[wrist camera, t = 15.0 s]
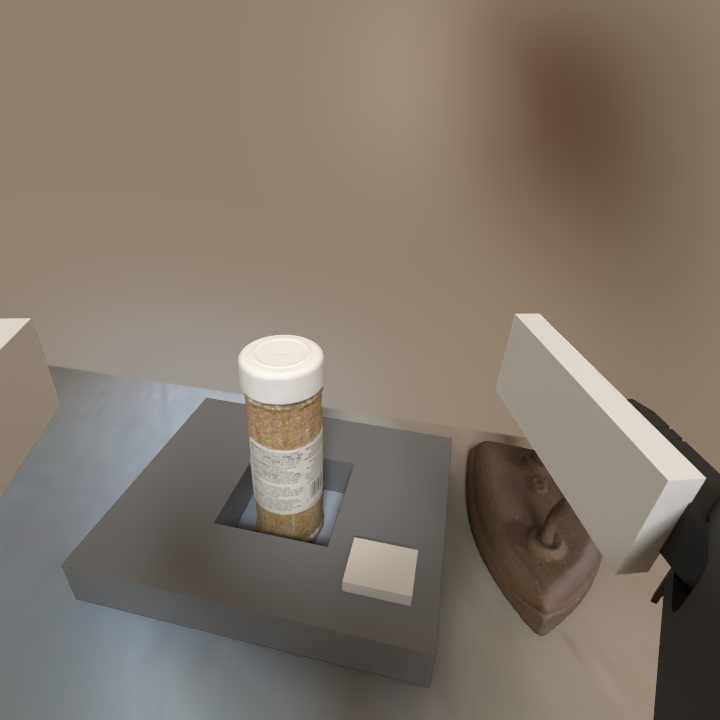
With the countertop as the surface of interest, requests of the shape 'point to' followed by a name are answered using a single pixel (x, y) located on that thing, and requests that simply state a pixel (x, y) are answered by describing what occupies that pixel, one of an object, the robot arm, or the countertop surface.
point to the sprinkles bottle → (285, 433)
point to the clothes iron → (528, 534)
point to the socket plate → (282, 547)
